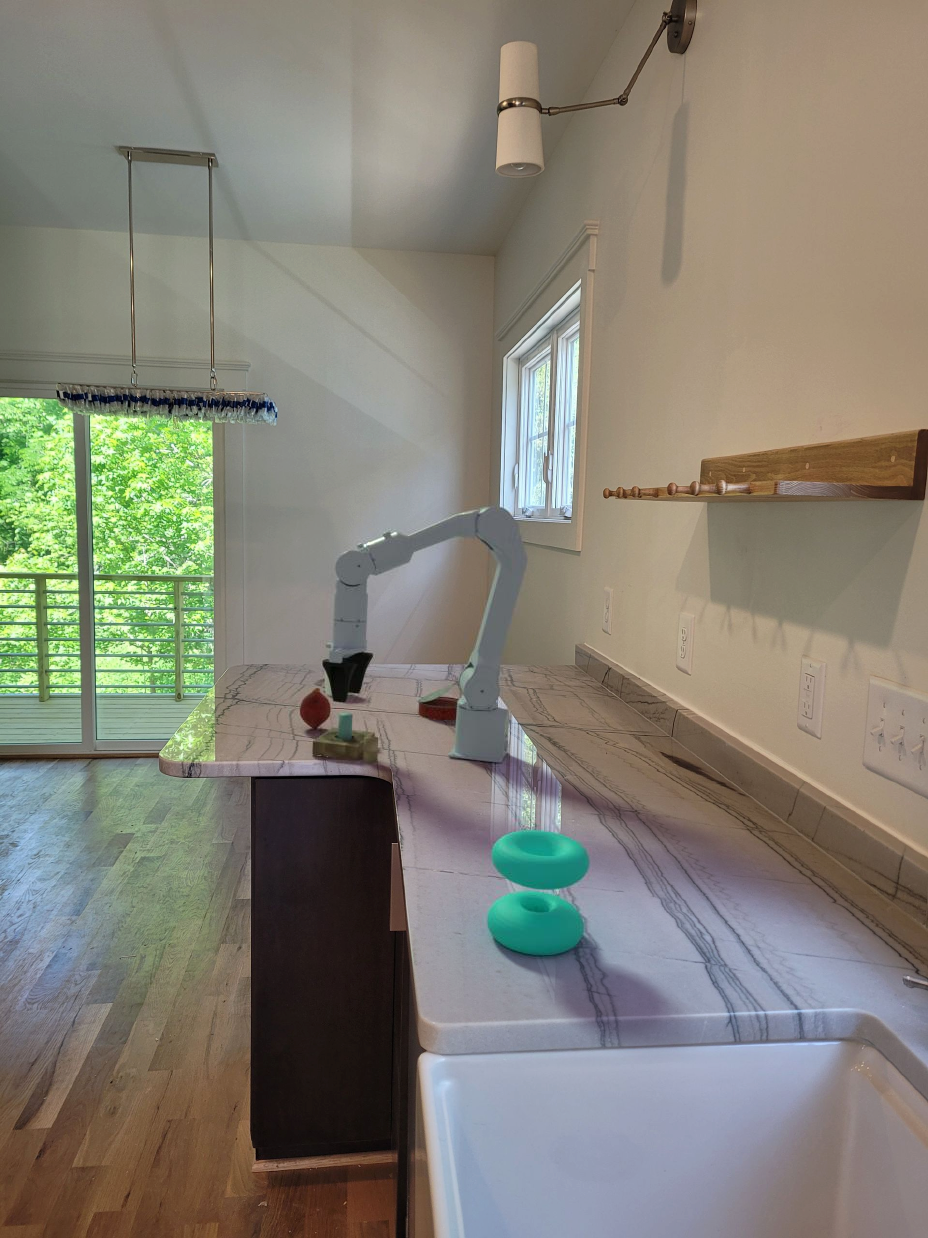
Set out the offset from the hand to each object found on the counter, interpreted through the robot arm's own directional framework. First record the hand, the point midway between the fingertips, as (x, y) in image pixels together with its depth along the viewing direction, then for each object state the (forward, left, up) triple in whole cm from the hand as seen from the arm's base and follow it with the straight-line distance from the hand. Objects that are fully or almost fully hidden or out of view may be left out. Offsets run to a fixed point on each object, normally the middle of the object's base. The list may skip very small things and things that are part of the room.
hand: (346, 697), depth 152 cm
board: (0, 0, -10) cm, 10 cm away
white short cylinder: (+16, -43, -10) cm, 47 cm away
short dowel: (-6, +4, -10) cm, 12 cm away
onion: (+10, -12, -10) cm, 18 cm away
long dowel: (0, 0, -10) cm, 10 cm away
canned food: (-10, -34, -10) cm, 37 cm away
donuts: (-40, +57, -10) cm, 70 cm away
